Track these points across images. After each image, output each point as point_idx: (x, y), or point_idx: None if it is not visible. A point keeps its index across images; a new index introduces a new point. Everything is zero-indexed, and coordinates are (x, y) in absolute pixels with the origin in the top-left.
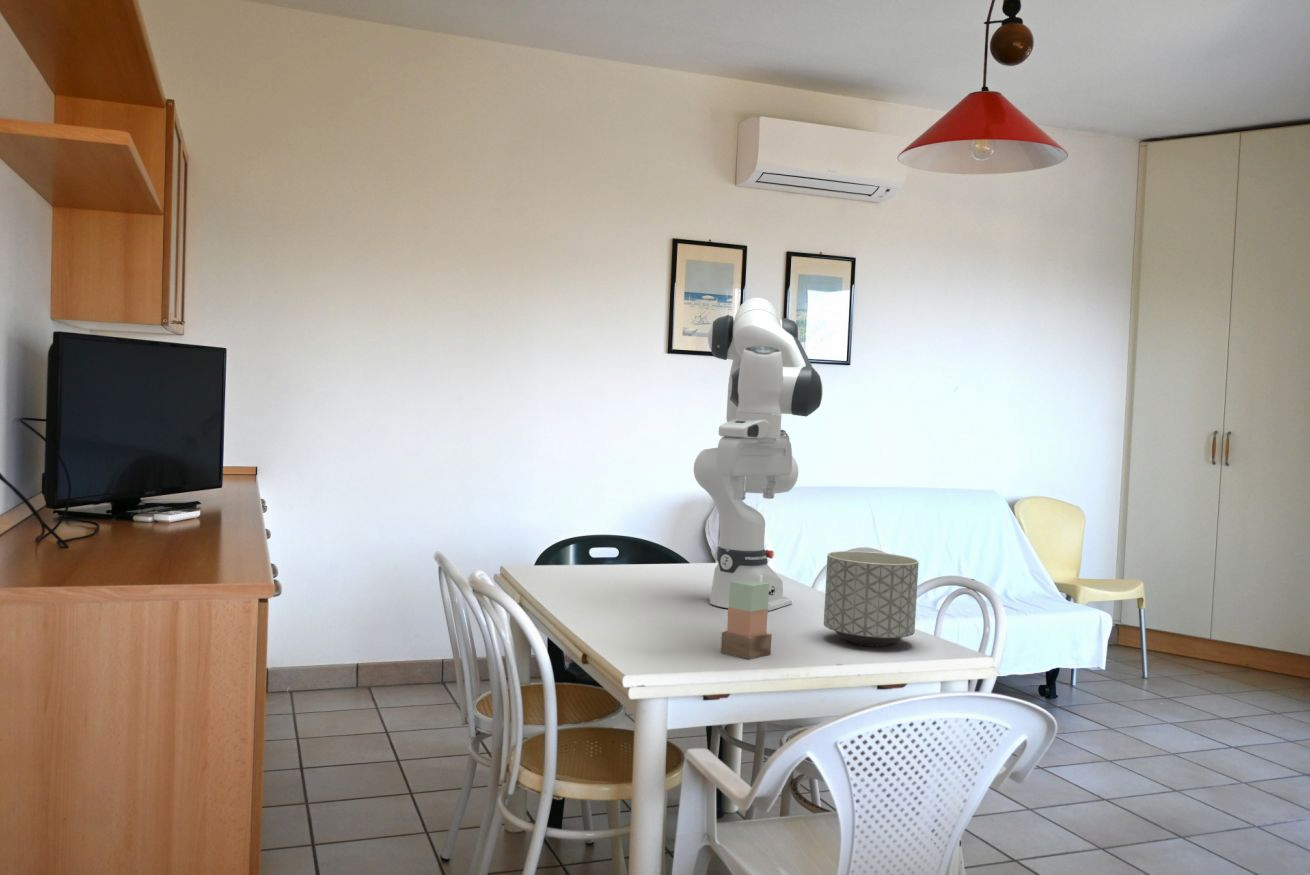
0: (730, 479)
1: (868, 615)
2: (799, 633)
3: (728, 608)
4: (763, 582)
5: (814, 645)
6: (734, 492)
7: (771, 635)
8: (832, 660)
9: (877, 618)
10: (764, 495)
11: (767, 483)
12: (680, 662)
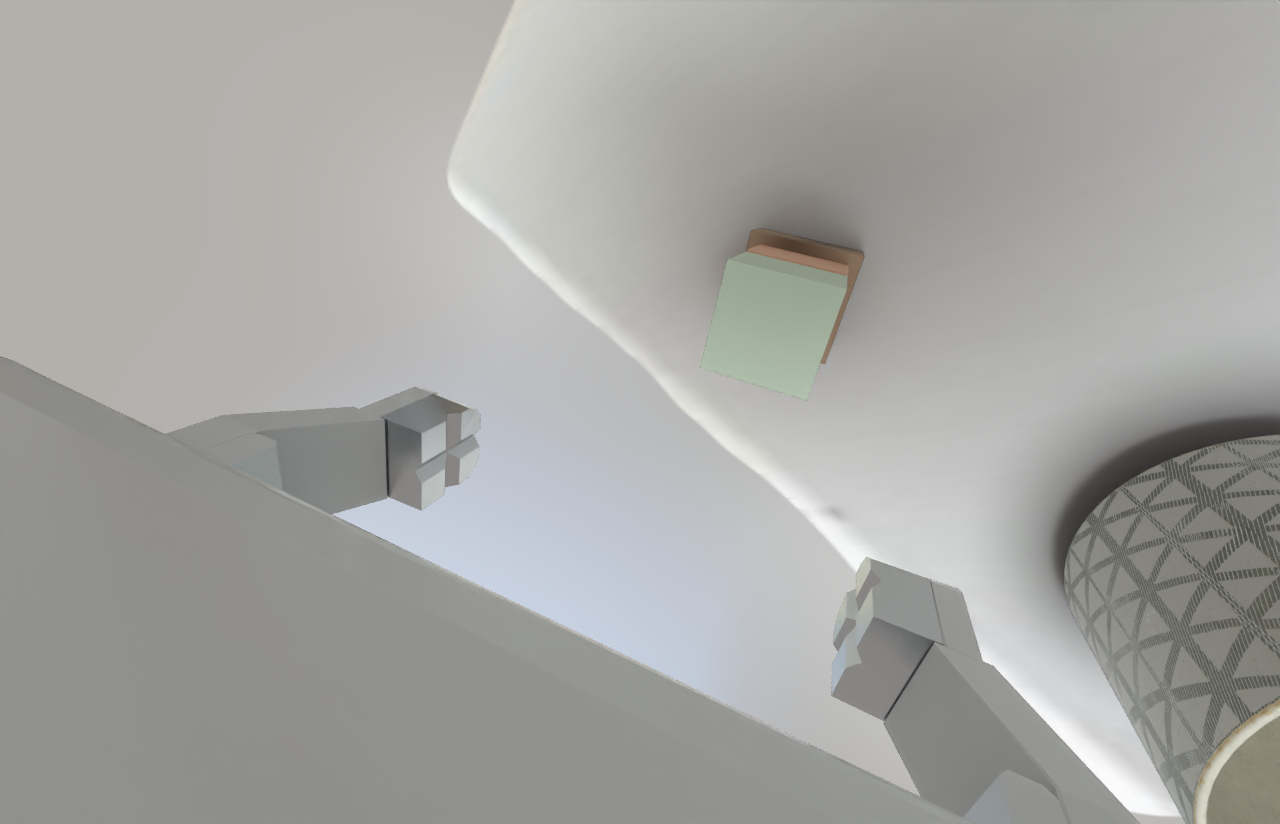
0: (197, 424)
1: (1089, 631)
2: (1277, 323)
3: (748, 249)
4: (813, 374)
5: (1048, 419)
6: (379, 408)
7: (823, 363)
8: (866, 494)
9: (1092, 650)
10: (858, 583)
11: (1009, 731)
12: (598, 199)
